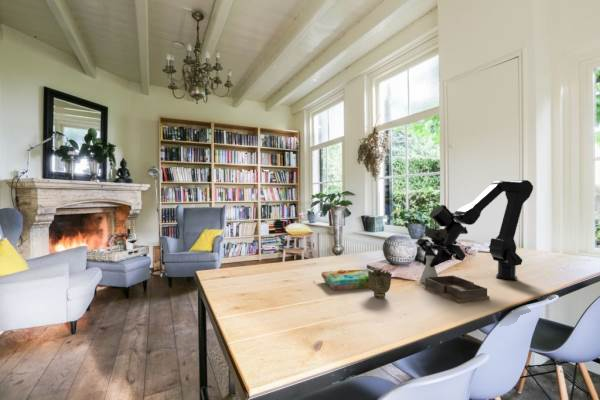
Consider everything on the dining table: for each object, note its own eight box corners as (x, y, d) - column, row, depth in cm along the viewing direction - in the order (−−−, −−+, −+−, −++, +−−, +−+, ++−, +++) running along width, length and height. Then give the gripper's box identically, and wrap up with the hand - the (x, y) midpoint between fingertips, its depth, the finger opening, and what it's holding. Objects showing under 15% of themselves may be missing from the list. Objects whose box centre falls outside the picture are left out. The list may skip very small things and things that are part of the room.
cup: (378, 302, 88) (379, 276, 87) (363, 295, 94) (363, 271, 94) (396, 298, 91) (396, 273, 91) (380, 291, 98) (380, 268, 97)
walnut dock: (425, 287, 101) (425, 277, 101) (452, 285, 105) (452, 275, 104) (458, 303, 87) (458, 291, 87) (489, 299, 90) (489, 288, 90)
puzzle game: (321, 270, 108) (368, 266, 114) (321, 282, 109) (368, 278, 114) (332, 279, 97) (384, 274, 102) (332, 292, 97) (384, 287, 102)
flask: (439, 280, 110) (439, 255, 110) (441, 286, 103) (442, 259, 103) (418, 278, 112) (419, 253, 112) (420, 284, 105) (420, 257, 105)
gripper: (420, 218, 117) (398, 247, 114) (459, 223, 100) (435, 256, 96) (434, 236, 120) (413, 264, 117) (475, 244, 103) (452, 277, 99)
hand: (427, 265), depth 107 cm, fingers closed on flask, 3 cm apart
